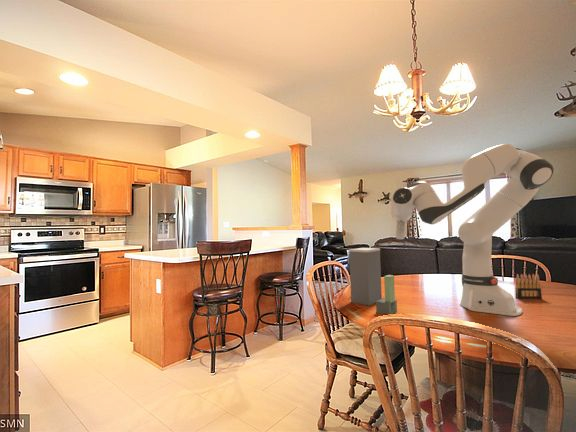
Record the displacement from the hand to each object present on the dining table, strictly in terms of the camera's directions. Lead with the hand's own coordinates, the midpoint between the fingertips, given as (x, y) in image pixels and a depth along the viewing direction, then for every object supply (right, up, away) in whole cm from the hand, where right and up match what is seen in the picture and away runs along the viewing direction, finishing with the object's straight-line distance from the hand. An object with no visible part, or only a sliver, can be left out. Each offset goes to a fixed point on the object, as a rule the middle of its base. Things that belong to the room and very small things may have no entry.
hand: (401, 223), depth 143 cm
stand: (-16, -39, +3) cm, 42 cm away
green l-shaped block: (-10, -30, -17) cm, 36 cm away
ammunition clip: (+63, -37, +1) cm, 73 cm away
